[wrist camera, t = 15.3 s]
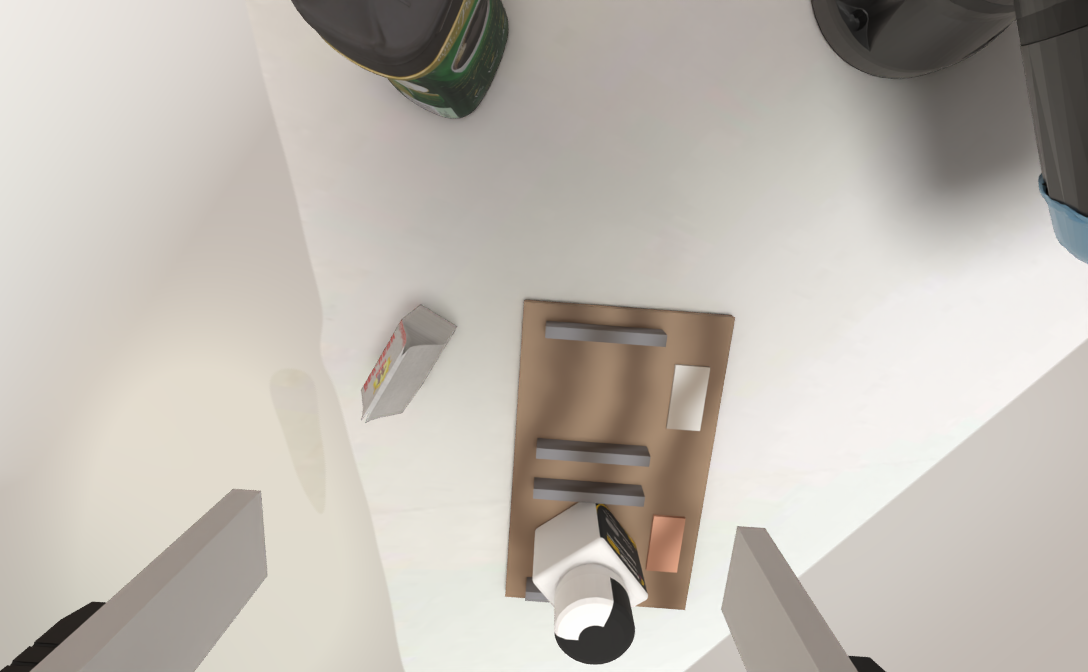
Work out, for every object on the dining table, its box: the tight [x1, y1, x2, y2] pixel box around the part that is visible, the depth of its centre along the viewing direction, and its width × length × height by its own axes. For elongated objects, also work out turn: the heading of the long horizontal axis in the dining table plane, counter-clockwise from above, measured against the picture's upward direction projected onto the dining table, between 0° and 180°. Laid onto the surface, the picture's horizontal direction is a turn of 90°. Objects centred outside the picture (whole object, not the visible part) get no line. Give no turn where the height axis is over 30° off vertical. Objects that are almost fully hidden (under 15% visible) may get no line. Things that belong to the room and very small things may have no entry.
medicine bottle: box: [532, 502, 648, 664], centre depth 44 cm, size 7×7×12 cm
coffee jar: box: [291, 0, 508, 118], centre depth 31 cm, size 10×8×19 cm
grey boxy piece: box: [361, 305, 457, 423], centre depth 41 cm, size 4×7×10 cm, turn 148°
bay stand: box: [505, 300, 735, 610], centre depth 47 cm, size 18×30×3 cm, turn 176°
